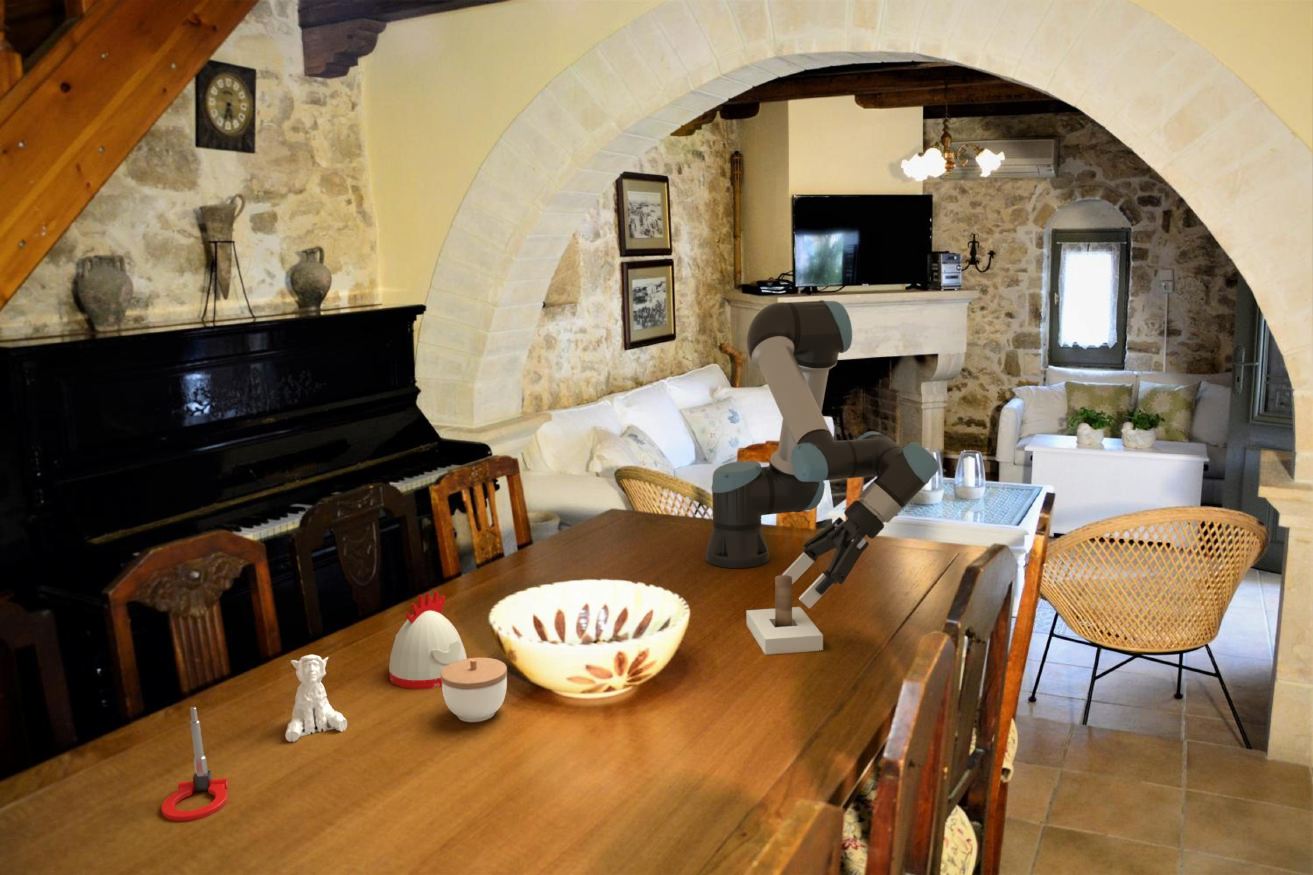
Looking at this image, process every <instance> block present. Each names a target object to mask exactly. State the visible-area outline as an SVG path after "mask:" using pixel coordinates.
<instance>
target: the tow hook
mask: <svg viewBox="0 0 1313 875" xmlns="http://www.w3.org/2000/svg"><path fill="white" fill-rule="evenodd" d="M189 711H190V717H191V721H190V730H191V738H192V744H193V753H194V758H193V764H194V770H195V772H194V774H193V776H192V780H191V781H180V782H178V785H177V790H176V791H175V792H173V793H171V794H170V795H168V796H167V798H166V799H165V800H164V801H163V802H162V804H161V814H162V815H163V817H164V818H166V819H167V820H169V821H174V822H188V821H189V822H190V821H195V820H199V819H203V818H206V817H208V816H210V815H212V814H214V813H216V812H218V811H219V810H220V809H222V808H223V806H225V804H226V803H227V801H228V790H227V789H228V788H229V778H227V777H223V778H214V779H213V777H212V770H208V764H207V757H206V755H205V752H204V746H203V739H202V738H203V737H202V731H201V723H200V722H201V721H200V719H198V712H197V707H196V706H191V707H190V709H189ZM194 792H196V793H197V792H199V793H200V792H208V794H209V795H212V796H214V799H213V800H212V801H211V802H210V803H209V804H207V805H205V806H203V807H200V808H197V809H193V810H179V809H177V808H176V805H177V803H179V802H180V801H181V800H183V799H185V798H188V797H190V796H191V795H193V793H194Z"/></svg>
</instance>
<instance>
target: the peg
mask: <svg viewBox="0 0 1313 875" xmlns="http://www.w3.org/2000/svg"><path fill="white" fill-rule="evenodd" d="M774 581H775V582H774V583H775V586H774V588H775V590H774V594H775V595H774V596H775V598H774V607H775V608H774V609H775V627H787V626H792V607H793V584H792V577H791V576H788V575H782V574H779V575H776V576H775V577H774Z"/></svg>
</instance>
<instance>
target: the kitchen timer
mask: <svg viewBox="0 0 1313 875" xmlns="http://www.w3.org/2000/svg"><path fill="white" fill-rule="evenodd" d="M417 598H418V599H417V604H415V603H413V602H411V603H410V605H411V609H412V612H413V614H412V615H411V614H410V613H409V612H408V611H404V613H405V617H406V618H407V619H406V621H405V622H404V623H403V625H402V626H401V627H400V629H399V631H398V632H397V633H396V635H395V638H394V642H393V645H392V649H391V653H390V657H389V667H388V668H389V670H388V672H389V680H390V682H391V683H392V684H393V685H395V686H398V687H401V688H403V689H404V688H405V689H416V690H424V689H434V688H440V687H441V688H442V681H441V671H442V669H443V668H444V667H445V666H447V665H449V664H451V663H453V662H456V661H459V660H463V659H468V658H467V656H468V655H467V653H466V649H465V647H464V644H463V641H462V639H461V636H460V635H459V632H458V630H457V629H456V627H455V626H454V625H453V623H452V622H451V621H450V620H449V619H448V618H446V616H444V615H443V614H442V611H443V607H444V604H445V600H446V595H441V596H440V594H439V592H438V591H436V590H434V591H433V596H432V597H431V594H430V593H428V592H425V596H423V595H421V594H418V597H417Z"/></svg>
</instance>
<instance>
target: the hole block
mask: <svg viewBox="0 0 1313 875" xmlns="http://www.w3.org/2000/svg"><path fill="white" fill-rule="evenodd" d="M745 614H746V626H747V628H748V629H749V631H750V633H751V634H752V636H753V637H754V639H755V641H756V642H757V644H758V645H759V647H760V648H761V650H762V652H763V653H764V655H779V654H781V655H782V654H790V653H791V654H794V653H805V652H808V653H809V652H820V651H821V650H822V651H824V635H823V633H822V632H821V631H820V630H819V629H818V627H817V626H816V625H815V623H814V622H813V621H812V620H811V618H810V617H809V616H808V615H807V614H806V612H805V611H804V610H803V608H802V607H801V606H796V607H795V606H792V626H787V627H775V608H762V609H750V610H746V612H745ZM819 650H820V651H819Z"/></svg>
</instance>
